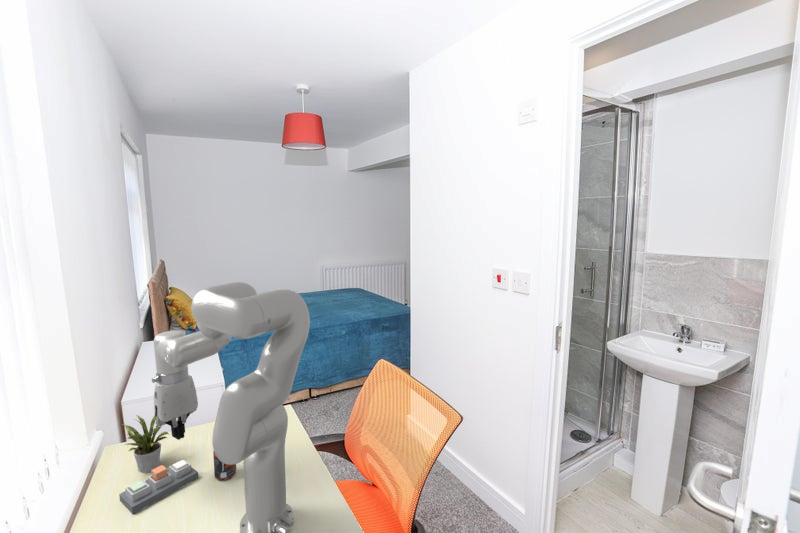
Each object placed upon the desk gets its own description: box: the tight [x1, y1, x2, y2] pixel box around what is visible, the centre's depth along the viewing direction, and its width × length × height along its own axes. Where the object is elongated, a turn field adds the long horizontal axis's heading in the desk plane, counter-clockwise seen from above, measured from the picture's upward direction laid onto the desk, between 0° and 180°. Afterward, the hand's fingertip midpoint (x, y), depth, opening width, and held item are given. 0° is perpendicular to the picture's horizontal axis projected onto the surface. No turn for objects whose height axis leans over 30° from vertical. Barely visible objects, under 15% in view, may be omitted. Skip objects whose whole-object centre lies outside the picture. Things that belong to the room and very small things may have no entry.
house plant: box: [121, 414, 171, 474], centre depth 120 cm, size 14×14×16 cm
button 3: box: [172, 459, 187, 471], centre depth 115 cm, size 3×3×2 cm
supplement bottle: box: [212, 449, 237, 481], centre depth 116 cm, size 6×6×11 cm
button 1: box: [128, 480, 146, 493], centre depth 106 cm, size 3×3×2 cm
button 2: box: [150, 464, 168, 482], centre depth 110 cm, size 3×3×2 cm
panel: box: [118, 458, 199, 515], centre depth 110 cm, size 8×17×4 cm, turn 145°
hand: (178, 437), depth 113 cm, fingers closed
